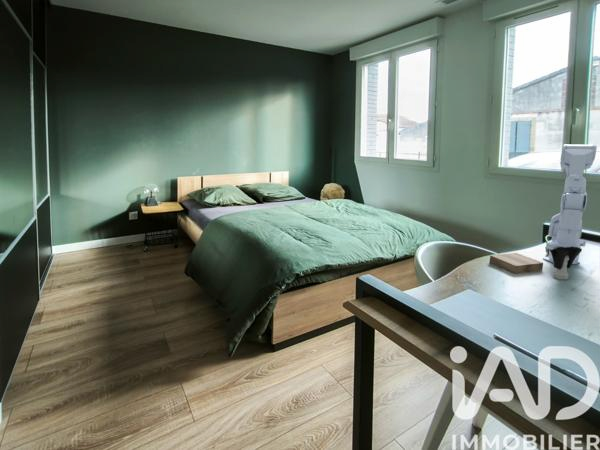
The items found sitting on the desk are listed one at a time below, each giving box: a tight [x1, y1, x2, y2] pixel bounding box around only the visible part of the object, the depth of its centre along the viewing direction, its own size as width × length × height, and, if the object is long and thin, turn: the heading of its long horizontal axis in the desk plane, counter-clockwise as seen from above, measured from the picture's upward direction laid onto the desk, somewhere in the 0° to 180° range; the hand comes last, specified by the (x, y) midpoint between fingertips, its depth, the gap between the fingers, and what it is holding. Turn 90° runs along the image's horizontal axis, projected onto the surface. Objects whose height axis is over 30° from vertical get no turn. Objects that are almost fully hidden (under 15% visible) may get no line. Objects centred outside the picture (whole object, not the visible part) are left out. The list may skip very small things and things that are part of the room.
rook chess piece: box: [552, 255, 570, 281], centre depth 124 cm, size 4×4×8 cm
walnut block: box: [489, 252, 544, 275], centre depth 135 cm, size 12×12×3 cm
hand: (561, 267), depth 124 cm, fingers closed on rook chess piece, 3 cm apart
